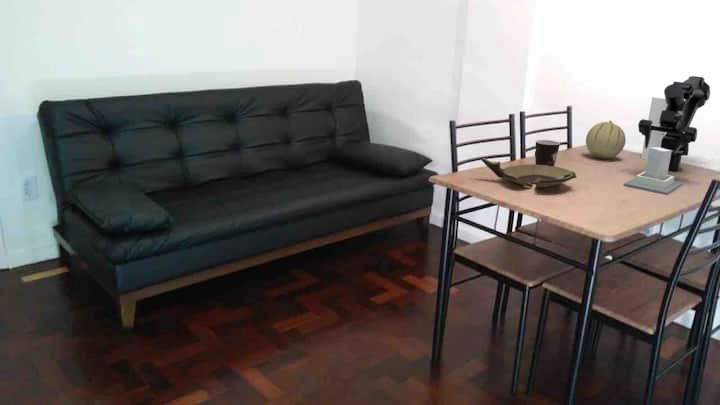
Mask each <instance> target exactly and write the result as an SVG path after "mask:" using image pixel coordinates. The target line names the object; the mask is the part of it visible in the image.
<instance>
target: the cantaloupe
mask: <svg viewBox="0 0 720 405" xmlns="http://www.w3.org/2000/svg"><path fill="white" fill-rule="evenodd" d="M585 138H586V139H585V145H586V148H587V150H588V151H589V153H590V154H591V155H593V156H594V157H596V158H598V159H611V158H615V157H616V156H618V155H619V154H620V153H621V152H622V151H623V150H624V148H625V145H626V143H627V142H626V134H625V132H624V130H623V129H622V127H620V126H619V125H617V124H615V123H613V121H612V120H609V121H603V122H599V123H596V124H594V125H593V126H592V127H591V128H590V129H589V131H588V132H587V134H586V137H585Z"/></svg>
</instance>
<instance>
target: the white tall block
mask: <svg viewBox="0 0 720 405" xmlns="http://www.w3.org/2000/svg"><path fill="white" fill-rule="evenodd" d="M667 105H668V104H667V103H666V99H665V96H663V95H662V96H661V95H653V96H652V98H651V103H650V109H649V113H648V119H647V120H651V121H652V125H658V126H660V124H659V121H660V116H661V112H662V110H664V111H665V110H666V107H667ZM665 134H666V132H660V131H654V130H652V131H651V137H650V141H649V144H648V147H647V149H645V138H644V140H643V145H642V151H641V157H640V158H641V159H643V160H646V161H647V158H648V153H649V148H650V147H660V148H661V141H662V138H663V136H665Z"/></svg>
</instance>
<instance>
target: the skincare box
mask: <svg viewBox="0 0 720 405" xmlns="http://www.w3.org/2000/svg"><path fill="white" fill-rule="evenodd" d="M671 152H672V151H671V150H667V149H664V148H660V147H650V148H649V153H648V158H647V160H646V162H645V163H646V164H645V170H644V171H645V174H644V177H649V178H654V179H659V180H666V178H667V175H668V171H669V170H668V168H669V163H670V158H671Z"/></svg>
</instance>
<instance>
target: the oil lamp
mask: <svg viewBox="0 0 720 405" xmlns="http://www.w3.org/2000/svg"><path fill="white" fill-rule="evenodd" d="M480 160H481V162H483V164H484V165H485V166H486V167H487V168H488V169H489V170H491V171H492V172H493V174H495V176H497V177H498V178H500V179H508V180H509V181H511V182H513V183H516V184H518V185H522V186H524V187H530V188H533V187H535V188H538V189H539V188H548V187H549V188H550V187H553V186H557V185H560V184H563V183H566V182H568V181H570V180H573V179H576V178H577V175H576V172H574V171H571V170H569V169H566V168H564V167H563V168H562V167H559V166H556V165H554V166H549V165H535V164H519V165H513V166H507V167H505V168H501V161H491V160H488V159H487V158H484V157H482V158H480ZM529 183H532V184H529ZM534 185H535V186H534Z"/></svg>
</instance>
